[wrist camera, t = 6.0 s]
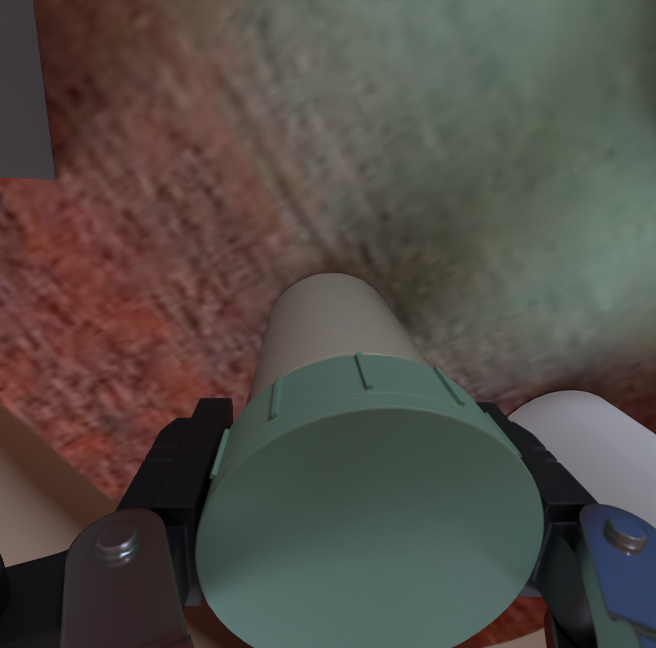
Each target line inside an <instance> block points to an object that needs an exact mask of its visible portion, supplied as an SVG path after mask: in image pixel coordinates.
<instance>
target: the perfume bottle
mask: <svg viewBox="0 0 656 648" xmlns="http://www.w3.org/2000/svg"><path fill="white" fill-rule="evenodd" d="M0 177H9V178H37V179H55V171H54V163H53V155H52V147H51V139H50V131H49V123H48V115H47V108H46V100H45V92H44V84H43V76H42V68H41V60H40V52H39V44H38V36H37V28H36V20H35V12H34V4H33V0H0Z"/></svg>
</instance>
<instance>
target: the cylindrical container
mask: <svg viewBox="0 0 656 648" xmlns="http://www.w3.org/2000/svg"><path fill="white" fill-rule="evenodd" d="M508 419H509V420H510V421H511V422H515V423H517V424H518V425H520V426H522V427H523V428H525V429H526V430H528V431H530V432H531V433H533V434H534V435H535V436H536V438H537V439H538V440H539V441H540V442H541V443H542V444H543V445H544V446H545V447H546V450H549V451H550V452H551V453H552V454H553V455H554V456H555V458H556V459H557V462H560V463H561V464H562V465H563V466H564V467H565V468H566V469H567V470H568V471H569V472H570V473H571V474H572V475H573V476H574V478H575V479H576V480H577V481H578V482H579V483H580V484H581V485H582V486H583V487H584V488H585V489H586V490H587V491H588V492H589V493H590V494H591V495H592V496H593V498H594V499H595V500H596V501H597V502H598V503H599V504H606V505H610V506H614V507H617V508H621V509H623V510H626V511H628V512H630V513H632V514H634V515H636V516H638V517H640V518H641V519H643V520H645V521H646V522H648V523H649V524H651V525H652V526H653V527H654V528H656V435H655V434H654V433H653V432H651V431H650V430H648V429H647V428H645V427H644V426H642V425H641V424H639V423H638V422H636V421H635V420H633V419H632V418H630V417H629V416H628V415H626V414H625V413H623V412H622V411H620V410H619V409H617V408H616V407H614V406H613V405H611V404H610V403H608V402H607V401H605V400H604V399H603V398H601V397H599V396H596V395H594V394H592V393H589V392H583V391H577V390H569V391H558V392H553V393H549V394H546V395H543V396H540V397H538V398H535V399H533V400H531V401H530V402H528V403H526V404H524V405H522V406H521V407H520V408H518V409H517V410H516V411H514V412H513V413H512V414H511V415H509V417H508Z"/></svg>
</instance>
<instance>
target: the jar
mask: <svg viewBox="0 0 656 648" xmlns="http://www.w3.org/2000/svg"><path fill="white" fill-rule="evenodd" d="M356 352H361V353H362V355H383V356H391V357H398V358H402V359H406V360H410V361H414V362H417V363H420V364H422V365H425V366H427V367H430V368H432V369H434V367H433V366H432V365H431V363H430V362H429V360H428V359H427V358H426V356H425V355H424V354H423V352H422V351H421V349H420V348H419V347H418V345H417V344H416V343H415V341H414V340H413V338H412V337H411V336H410V334H409V333H408V332H407V330H406V329H405V327H404V326H403V325H402V323H401V322H400V320H399V319H398V318H397V316H396V315H395V314H394V312H393V311H392V309H391V308H390V307H389V305H388V304H387V303H386V301H385V300H384V298H383V297H382V296H381V295H380V294H379V293H378V291H377V290H375V289H374V288H373V287H372V286H371V285H369V284H368V283H366V282H365V281H363V280H361V279H358V278H356V277H353V276H350V275H346V274H341V273H323V274H318V275H313V276H310V277H307V278H305V279H303V280H301V281H299V282H297V283H295V284H294V285H292V286H291V287H289V288H288V289H287V290H286V291H285V292H284V293H283V294H282V295H281V296H280V297H279V299H278V300H277V301H276V303H275V305H274V306H273V308H272V310H271V312H270V315H269V318H268V321H267V325H266V329H265V333H264V337H263V341H262V345H261V349H260V353H259V357H258V361H257V364H256V368H255V372H254V376H253V380H252V384H251V388H250V392H249V396H248V400H247V404H246V406H247V405H248V403H249V402H250V401H251V400H252V399H254V398H255V397H256V396H257V395H258V394H259V393H260V392H261V391H263V390H264V389H265V388H266V387H268V386H269V385H271V384H272V383H274V382H275V378H276V377H277V376H279V375H281V377H283V376H285V375H287V374H289V373H291V372H293V371H295V370H297V369H299V368H302V367H305V366H307V365H310V364H313V363H315V362H318V361H323V360H327V359H331V358H335V357H342V356H351V355H356Z"/></svg>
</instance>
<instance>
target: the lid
mask: <svg viewBox="0 0 656 648" xmlns="http://www.w3.org/2000/svg"><path fill="white" fill-rule="evenodd" d="M521 457H522V455H521V453H520V452H519V451H518V449H517V448H516V447H515V446H514V445H513V443H512V442H511V441H510V440H509V438H508V437H507V436H506V435H505V434H504V432H503V431H502V430H501V429H500V428H499V426H498V425H497V424H496V423H495V421H494V420H493V419H492V418H491V417H490V415H489V414H488V413H487V412H486V413H484V412H483V411H482V410H481V409H480V407H479V406H478V405H477V404H476V403H475V401H474V400H473V399H472V398H471V397H470V396H469V395H468V394H467V393H466V392H465V390H464V389H462V388H461V387H460V386H459V385H457V384H456V383H455V382H454V381H452V380H451V379H450V378H448V377H446V376H445V375H444V374H443V372H442V371H441V370H440V368H438V367H436V366H435V367H434V369H432V368H430V367H427V366H425V365H422V364H420V363H417V362H414V361H410V360H406V359H402V358H398V357H391V356H383V355H362V353H361V352H356V355H351V356H342V357H335V358H331V359H327V360H323V361H318V362H315V363H313V364H310V365H307V366H305V367H302V368H299V369H297V370H295V371H293V372H291V373H289V374H287V375H285V376H283V377H281V375H279V376H277V377H276V378H275V382H274V383H272V384H271V385H269V386H268V387H266V388H265V389H264V390H263V391H261V392H260V393H259V394H258V395H257V396H256V397H255V398H254V399H252V400H251V401H250V402H249V403H248V405H247V406H246V407H245V408H244V409H243V410H242V412H241V413H240V414H239V415H238V417H237V418H236V420H235V421H234V423H233V425H232V426H231V428H230V429H229V430H228V429H225V431H224V433H223V436H222V439H221V442H220V445H219V448H218V452H217V455H216V458H215V461H214V464H213V468H212V471H211V474H210V477H209V478H210V479H212V481H211V484H210V487H209V491H208V494H207V497H206V501H205V504H204V507H203V510H202V514H201V517H200V521H199V525H198V529H197V533H196V539H195V552H194V555H195V565H196V573H197V576H198V580H199V583H200V587H201V590H202V592H203V594H204V596H205V598H206V600H207V602H208V604H209V605H210V607H211V608H212V610H213V611H214V613H215V614H216V615H217V617H218V618H219V619H220V620H221V621H222V622H223V623H224V624H225V625H226V626H227V628H228V629H230V631H232V632H233V633H234V634H235V635H237V636H238V637H239V638H241V639H242V640H243V641H244V642H246V643H248V644H249V645H251V646H253V647H254V648H452V647H454V646H456V645H458V644H460V643H462V642H463V641H465V640H467V639H468V638H470V637H472V636H473V635H475V634H476V633H478V632H479V631H481V630H482V629H483V628H485V627H486V626H487V625H489V624H490V623H491V622H492V621H494V620H495V619H496V618H497V617H498V616H499V615H500V614H501V613H502V612H503V611H504V610H505V609H506V608H507V607H509V605H510V604H511V603H512V602H513V601H514V599H515V598H516V597H517V596H518V594H519V593H520V592H521V590H522V589H523V587H524V586H525V584H526V583H527V581H528V579H529V578H530V576H531V574H532V572H533V569H534V567H535V565H536V563H537V560H538V557H539V553H540V550H541V547H542V541H543V533H544V514H543V507H542V503H541V498H540V494H539V491H538V488H537V486H536V484H535V481H534V479H533V477H532V475H531V473H530V472H529V470H528V469H527V467H526V466H525V464H524V463H523V461H522V460H521Z"/></svg>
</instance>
